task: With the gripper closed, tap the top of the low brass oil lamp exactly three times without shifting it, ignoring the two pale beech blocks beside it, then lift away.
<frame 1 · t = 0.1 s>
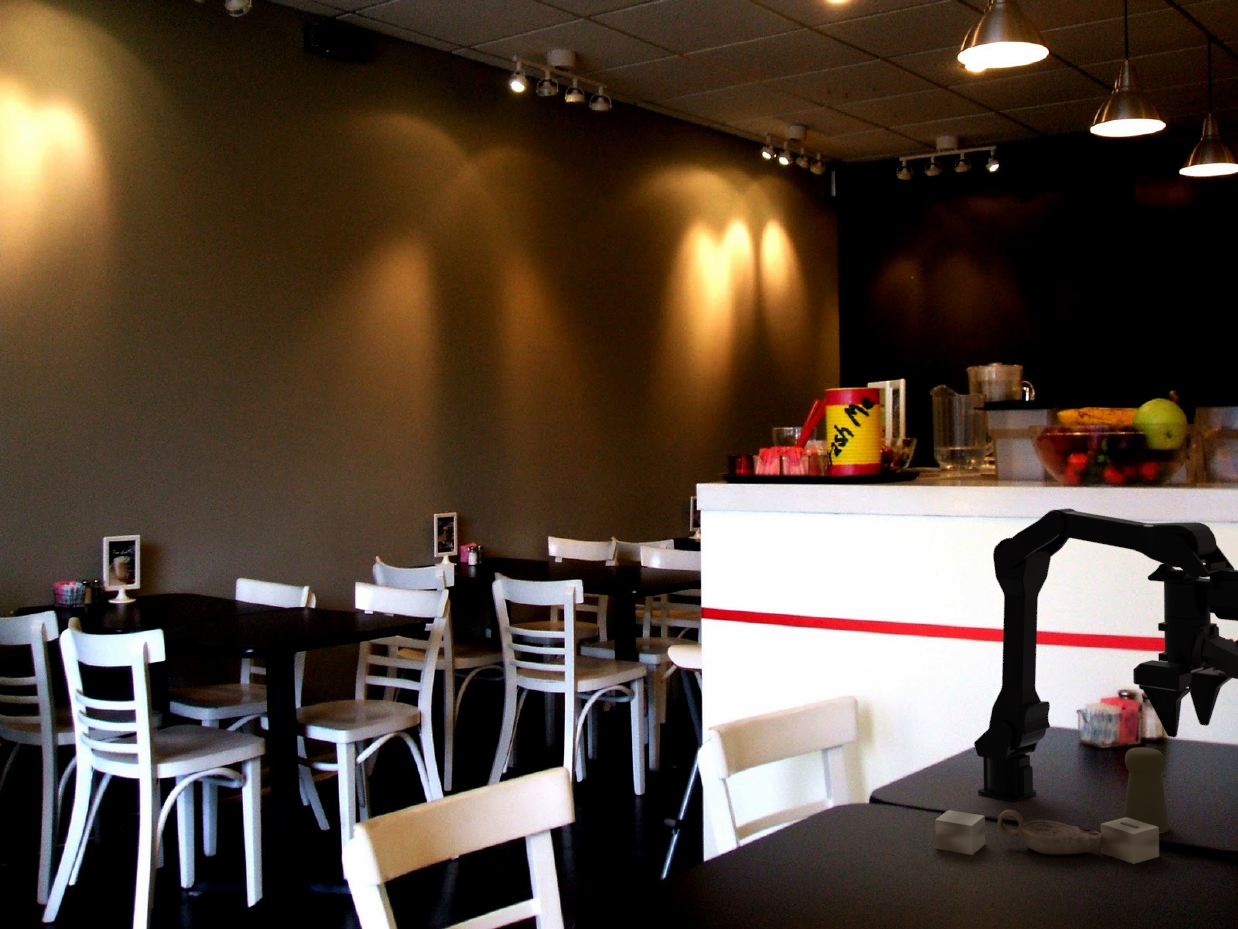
hand: (1188, 730, 167), 15 cm above the table, fingers open, 9 cm apart
pepper shaker: (1145, 828, 173), on the table
beech block left: (960, 847, 167), on the table
oil lamp: (1049, 852, 164), on the table
beech block right: (1129, 855, 162), on the table
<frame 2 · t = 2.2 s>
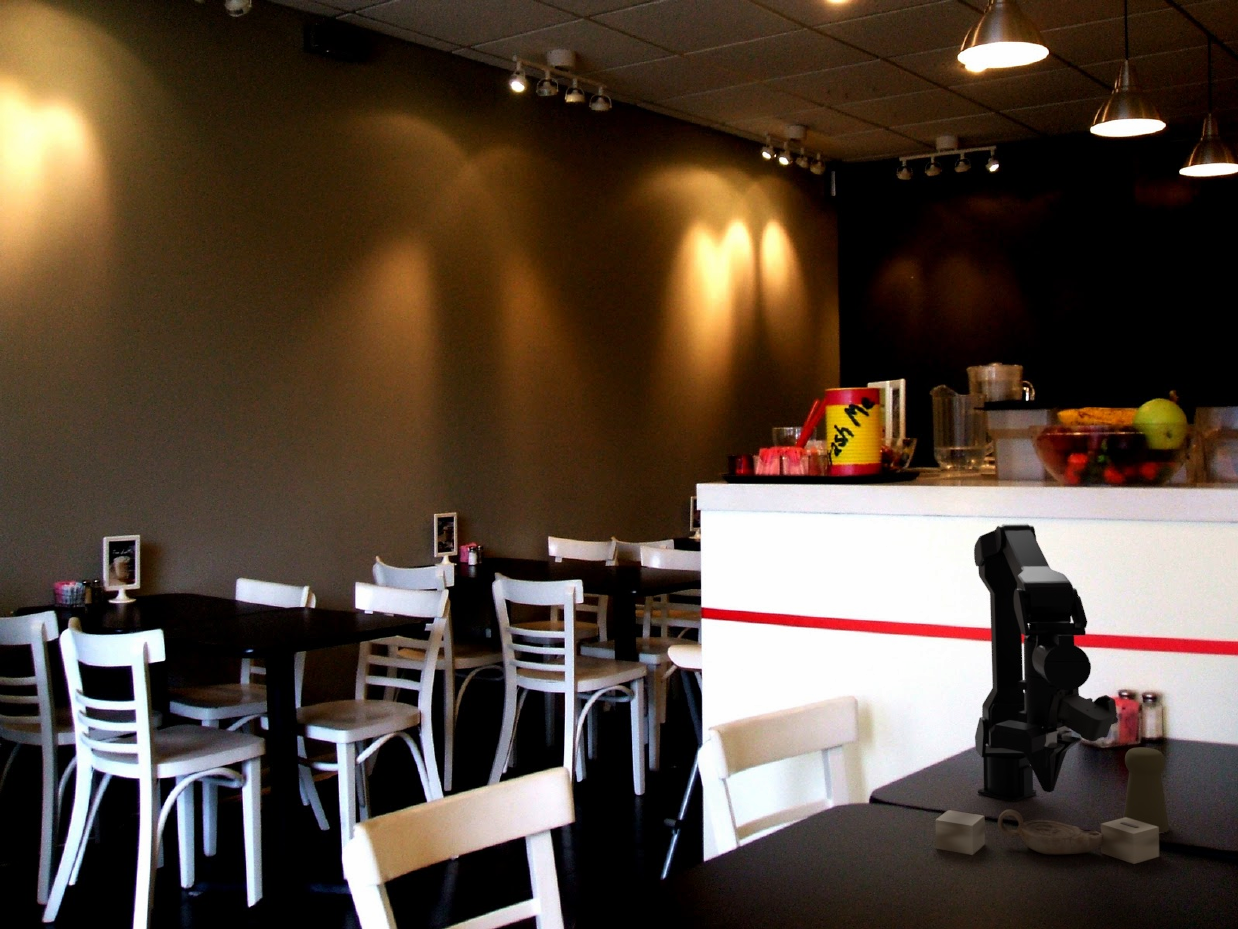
hand: (1048, 791, 164), 8 cm above the table, fingers closed
nothing on the table moved.
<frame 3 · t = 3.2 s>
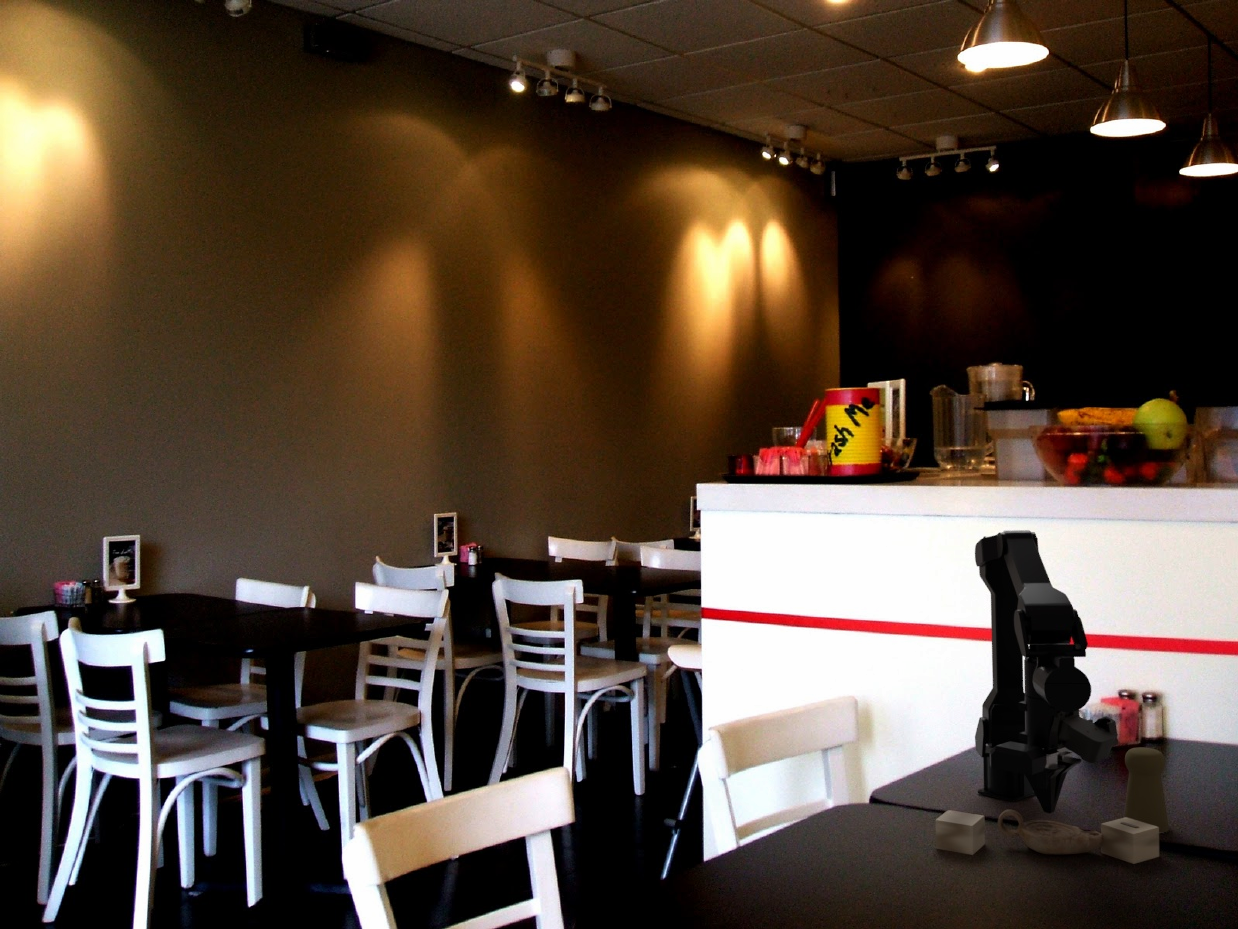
hand: (1049, 812, 164), 5 cm above the table, fingers closed
nothing on the table moved.
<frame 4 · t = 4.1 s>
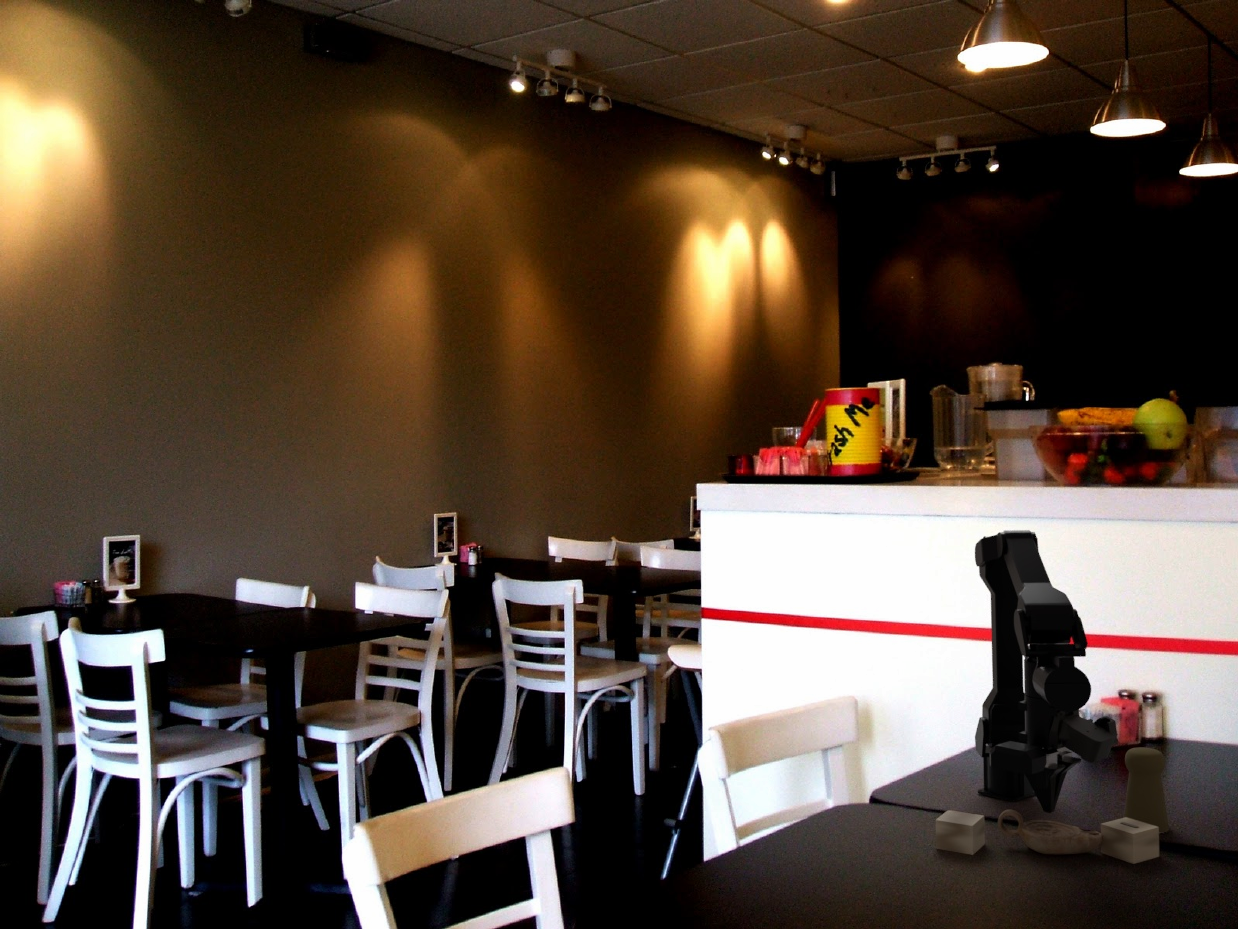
hand: (1048, 812, 164), 5 cm above the table, fingers closed
nothing on the table moved.
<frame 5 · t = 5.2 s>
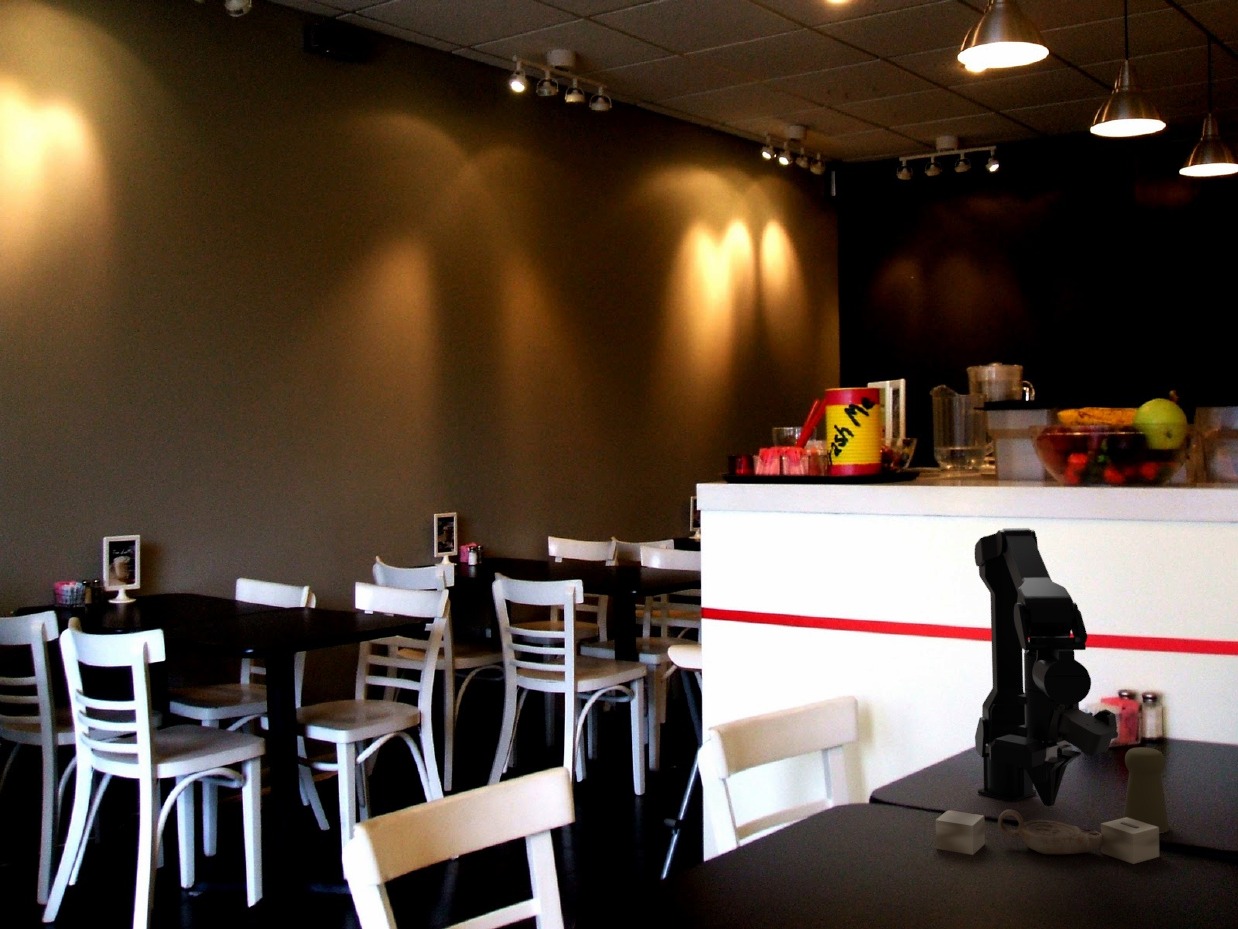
hand: (1048, 805, 164), 6 cm above the table, fingers closed
nothing on the table moved.
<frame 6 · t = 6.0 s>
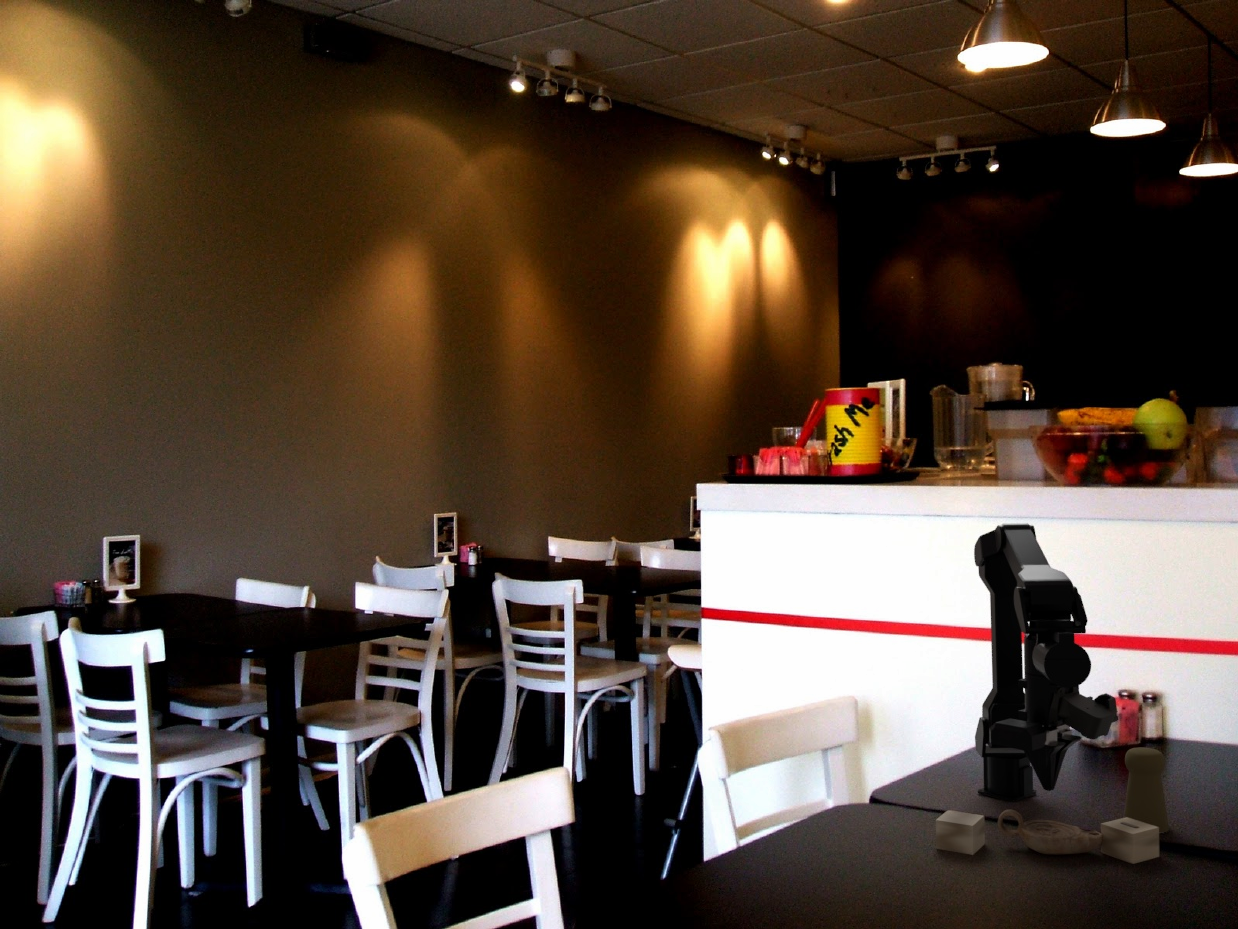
hand: (1048, 790, 164), 8 cm above the table, fingers closed
nothing on the table moved.
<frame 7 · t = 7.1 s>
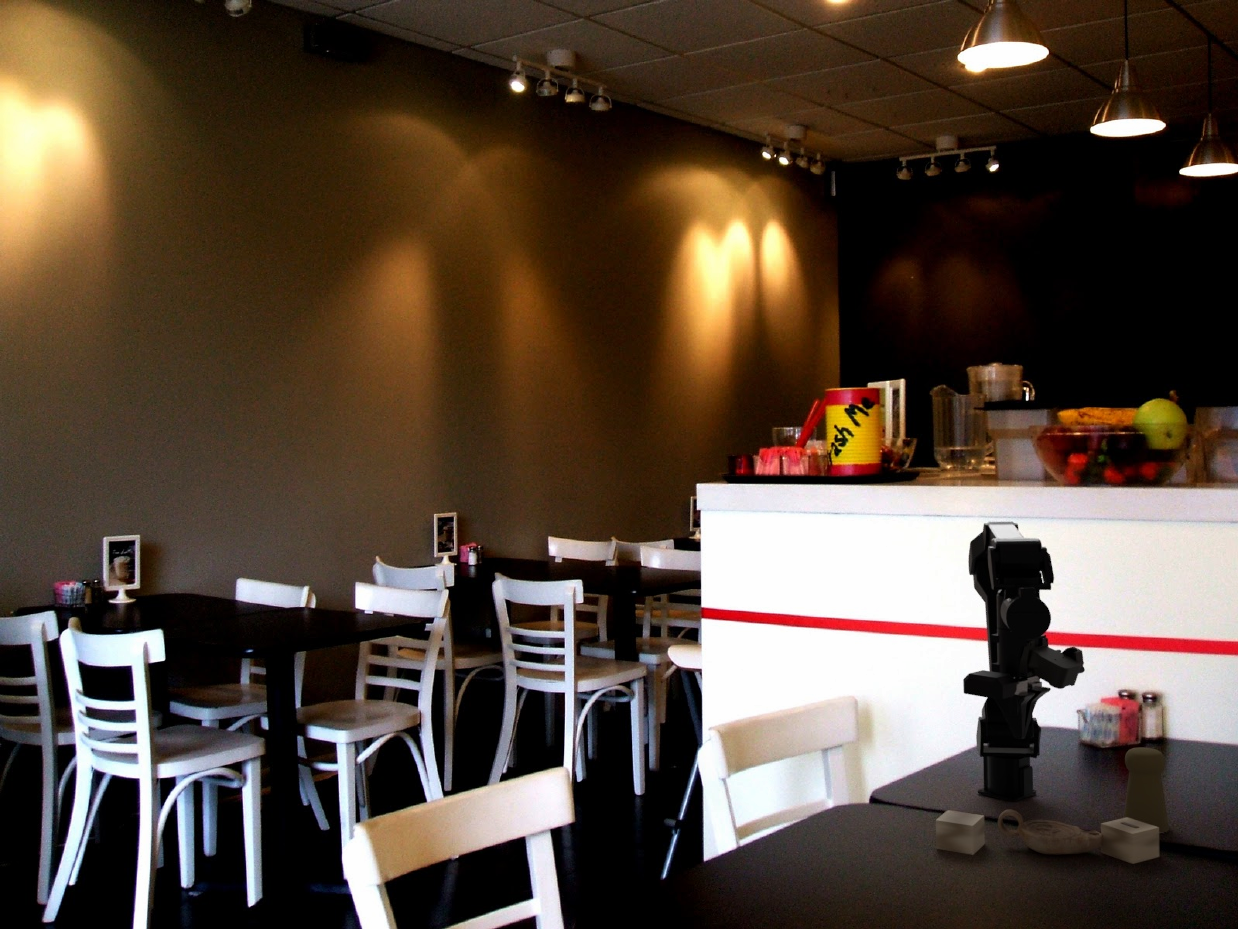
hand: (1019, 738, 174), 12 cm above the table, fingers closed
nothing on the table moved.
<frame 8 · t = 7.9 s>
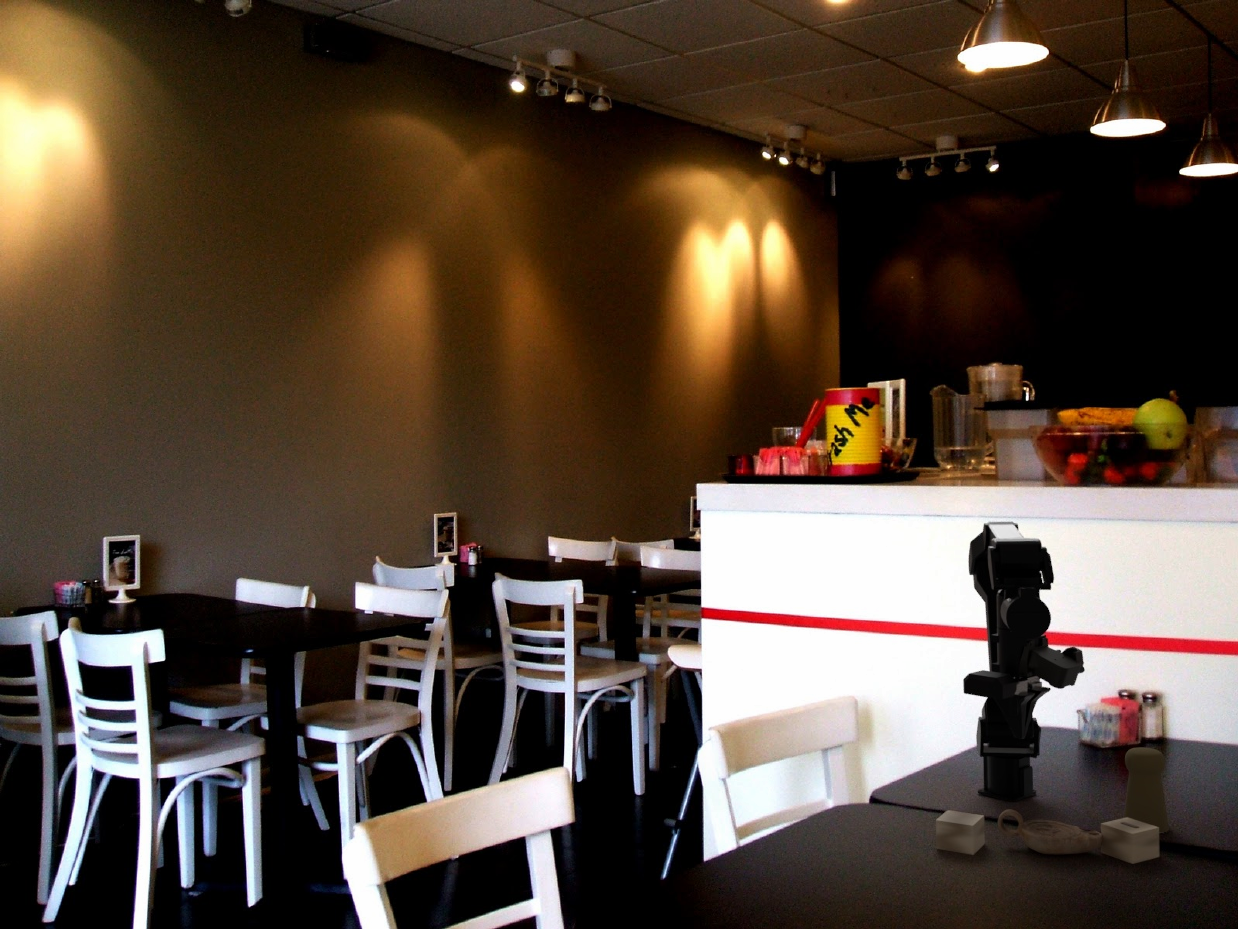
hand: (1019, 738, 174), 13 cm above the table, fingers closed
nothing on the table moved.
at the end: oil lamp moved 0.3 cm from its start; oil lamp tilted 0°; beech block right moved 0.2 cm from its start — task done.
